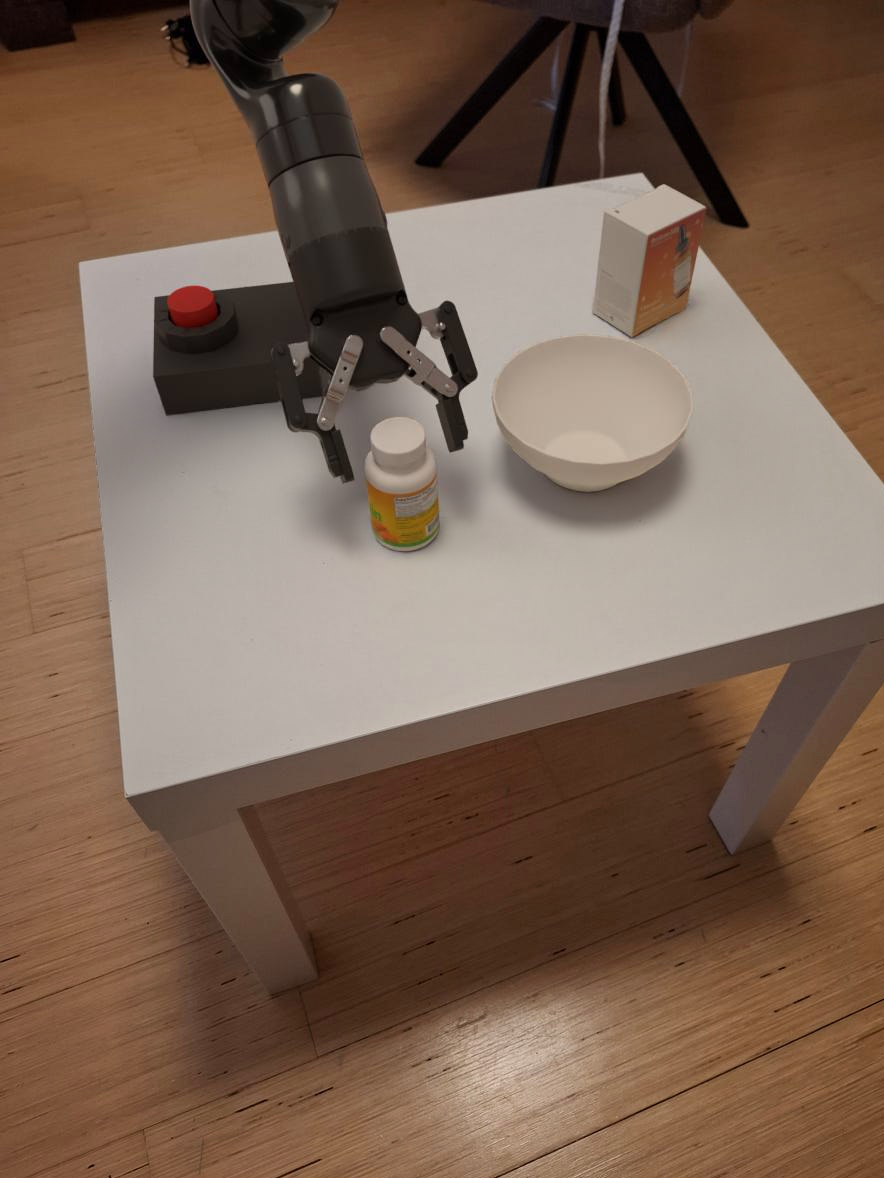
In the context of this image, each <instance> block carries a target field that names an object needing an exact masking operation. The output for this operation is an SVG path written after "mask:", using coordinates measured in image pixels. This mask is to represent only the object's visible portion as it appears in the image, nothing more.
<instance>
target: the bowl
mask: <svg viewBox="0 0 884 1178" xmlns="http://www.w3.org/2000/svg"><path fill="white" fill-rule="evenodd" d="M491 401H492V407H493V408H492V409H493V412H494V416H495V421H496V424H497V426H498V429H499V430H500V432H501V434H502V436H503V437H504V439H505V440H506V442H507V443H508V444H509V446H510V447H511V449H512V450H513V451H514V453H516V454H517V456H519V457H520V458H521V459H522V460H524V461H525V462H526V463H527V464H528V465H530V466H531V467H532V468H533V469H535V470H536V471H538V472H540V473H542V474H544V475H546V477H547V478H549V480H551V481H552V482H553V483H554V484H556V485H559V486H561V487H563V488H565V489H567V490H568V489H569V490H572V491H576V492H587V493H591V492H601V491H603V490H606V489H609V488H613V487H614V486H616V485H617V484H620V483H622V482H625V481H627V480H631V479H634V478H637V477H639V476H641V475H644V474H645V473H646V472H648V471H650V470H651V469H653V468H655V467H656V466H659V464H660V463H662V462H664V460H666V459H667V457H668V456H669V455H670V454H671V453H672V452H673V451H674V450H675V448H676V447H677V446H678V445H679V444H680V442H681V441H682V440H683V439H684V437H685V435H686V432H687V430H688V427H689V424H690V422H691V419H692V416H693V414H694V412H695V411H694V393H693V391H692V389H691V386H690V384H689V382H688V380H687V377H686V376H685V375H684V374H683V373H682V372H681V370H679V368H678V367H677V366H676V365H675V364H674V363H673V362H672V361H670V360H669V359H667V358H666V357H664V356H663V355H662V354H660V353H659V352H657V351H656V350H654V349H653V348H652V349H651V348H650V347H647V346H644V345H642V344H640V343H638V342H635V341H632V340H628V339H623V338H619V337H615V336H611V335H602V334H600V335H598V334H586V333H582V334H572V335H562V336H557V337H553V338H549V339H545V340H542V341H538V342H536V343H533V344H532V345H530V346H527V347H526V348H523V349H522V350H520V351H518V352H517V353H515V354H514V355H513V356H512V357H510V359H509V360H508V361H506V362H505V363H504V364H503V365H502V367H501V368H500V370H499V371H498V373H497V375H496V377H495V379H494V380H493V387H492V392H491Z"/></svg>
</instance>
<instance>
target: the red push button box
mask: <svg viewBox="0 0 884 1178" xmlns="http://www.w3.org/2000/svg"><path fill="white" fill-rule="evenodd" d="M211 291H212V293H213V294H214V298H215V302H216V306H217V310H218V316H217V318H216V319H215V320H214V321H213V322H211V323H209V324H206V325H204V326H202V327H194V328H184V327H179V326H177V325H176V324H175V323H174V322H173V320H172V317H171V314H170V310H169V307H168V304H167V300H168V297H169V296H170V294H168V295H167V294H166V295H159V296H154V300H153V308H154V309H153V348H152V349H153V354H152V358H153V360H152V363H153V364H152V378H153V381H154V385H155V387H156V390H157V393H158V395H159V399H160V402H161V404H162V408H163V410H164V414H165V415H166V416H171V415H178V414H179V415H180V414H187V413H194V412H201V411H202V412H203V411H211V410H218V409H226V408H234V407H241V406H242V407H243V406H251V405H258V404H259V405H260V404H267V403H274V402H275V403H277V402H281V399H280V395H279V391H278V387H277V383H276V379H275V375H274V371H273V367H272V363H271V360H270V355H271V351H272V348H273V346H274V345H275V344H276V343H278V342H283V343H285V344H287V345H289V344H294V343H300V342H305V341H307V340H308V329H307V325H306V321H305V318H304V315H303V312H302V308H301V305H300V302H299V299H298V295H297V292H296V289H295V286H294V282H293V281H287V282H278V283H269V284H268V283H267V284H260V285H258V284H257V285H251V286H250V285H249V286H241V287H232V288H231V287H230V288H223V289H213V290H211ZM321 377H322V376H321V371H320V366H319V365H318V364H316V363H315V362H314V361H313V360H312V359H311V358H310V357H306V358H305V359H304V368H303V370H302V372H301V373H300V374H299V375H298V376H297V380H298V384H299V388H300V392H301V397H302V399H306V398H307V399H308V398H314V397H323V395H324V391H323V385H322V379H321Z"/></svg>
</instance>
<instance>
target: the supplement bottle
mask: <svg viewBox="0 0 884 1178" xmlns="http://www.w3.org/2000/svg"><path fill="white" fill-rule="evenodd" d="M426 436H427V435H426V430H425V428H424V427H423V425H422V424H421V423H420V422H419V421H416V420H415V419H413V418H410V417H406V416H395V417H394V416H393V417H387V418H386V419H383V420H381V421H379V422H378V423H376V424H375V425H374V427H373V428H372V429H371V432H370V438H369V439H370V448H371V450H370V451H368V453H367V455H366V457H365V460H364V476H365V482H366V483H365V484H366V492H367V499H368V507H369V514H370V515H369V516H370V522H371V528H372V533H373V535H374V537H375V538H376V540H377V541H378V542H379V543H380V544H381V545H383V546H384V547H385V548H387V549H391V550H393V551H398V552H410V551H416V550H419V549H421V548H424V547H425V546H427V545H428V544H430V543H431V542H432V541H433V540H434V539H435V538H436V536H437V535H438V533H439V530H440V504H439V485H438V483H439V482H438V466H437V459H436V456H435V454H434V452H433V451H432V450H431V448H430V447H429V446H428V445H427V437H426Z"/></svg>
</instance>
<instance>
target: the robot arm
mask: <svg viewBox="0 0 884 1178" xmlns="http://www.w3.org/2000/svg"><path fill="white" fill-rule="evenodd" d="M339 2H340V0H189V12H190V13H189V14H190V19H191V24H192V27H193V31H194V33H195V36H196V39H197V41H198V43H199V46H200V47H201V49H202V51H203V52H204V55H205V56H206V58H207V59H208V61H209V63H210V64H211V66H212V68H213V69H214V71H215V73H216V74H217V76H218V77H219V79H220V81H221V83H222V84H223V86H224V87H225V89H226V91H227V93H228V95H229V97H230V99H231V101H232V102H233V104H234V105H235V107H236V109H237V110H238V112H239V114H240V116H241V117H242V118H243V120H244V122H245V125H246V126H247V127H248V129H249V131H250V133H251V135H252V139H253V142H254V146H255V150H256V152H257V153H256V154H257V156H258V160H259V162H260V166H261V168H262V172H263V177H264V179H265V182H266V185H267V188H268V191H269V192H268V193H269V195H270V200H271V206H272V213H273V218H274V223H275V226H276V230H277V233H278V236H279V240H280V244H281V247H282V251H283V252H284V256H285V260H286V263H287V266H288V269H289V272H290V276H291V279H292V282H294V286H295V289H296V292H297V295H298V299H299V302H300V305H301V308H302V312H303V315H304V318H305V321H306V325H307V329H308V340H307V341H305V342H300V343H294V344H289V345H287V344H285V343H283V342H278V343H276V344H275V345H274V346H273V348H272V351H271V355H270V360H271V363H272V367H273V371H274V375H275V379H276V383H277V387H278V391H279V395H280V399H281V401H280V404H281V407H282V411H283V414H284V418H285V422H286V426H287V429H288V430H289V431H290V432H292V433H309V434H313V435H314V436H316V437H317V439H318V441H319V444H320V447H321V451H322V453H323V457H324V460H325V463H326V466H327V469H328V472H329V474H330V475H331V477H333V479H335V478H340V482H341V484H342V485H345V484H348V483H351V482H355V481H356V480H355V479H356V478H355V474H354V470H353V467H352V464H351V461H350V458H349V455H348V451H347V447H346V444H345V441H344V438H343V435H342V430H341V429H340V428H339V429H337V427H336V424H335V423H336V420H337V417H338V414H339V413H340V409H341V406H342V403H343V401H344V399H345V397H346V394H347V391H348V389H349V390H352V391H356V393H357V392H362V391H365V390H368V389H369V388H371V387H373V386H375V385H383V384H384V385H387V384H388V385H389V384H391V383H395V382H398V381H399V380H400V379H401V378H402V377H406V378H407V379H408V380H409V381H410V382H411V383H413V384H414V385H416V386H419V387H420V388H422V389H423V390H424V391H425V392H427V393H428V394H429V395H430V396H432V397H433V398H434V399H435V400H437V403H436V404H435V405H434V406H435V409H436V412H437V416H438V419H439V422H440V426H441V430H442V433H443V437H444V441H445V444H446V447H447V450H448V453H455V452H458V451H461V450H464V449H465V443H464V441H466V440H468V439H469V429H468V426H467V422H466V419H465V415H464V412H463V408H462V404H461V401H460V394H461V392H462V390H464V389H465V388H466V387H468V386H470V384H472V383H473V382H474V381H476V380H477V379H478V376H479V372H478V369H477V366H476V363H475V360H474V357H473V355H472V351H471V348H470V345H469V342H468V340H467V336H466V333H465V330H464V328H463V325H462V321H461V319H460V315H459V313H458V310H457V307H456V305H455V303H454V302H452V300H444V301H443V302H441V303H440V304H439V306H437V307H434V308H432V309H428V310H425V311H422V312H419V313H418V312H417V311H416V310H415V308H413V306H412V305H411V303H410V301H409V298H408V294H407V291H406V287H405V284H404V280H403V277H402V273H401V270H400V266H399V262H398V260H397V257H396V252H395V249H394V246H393V242H392V239H391V235H390V232H389V228H388V224H389V223H388V219H387V215H386V213H385V212H384V211H385V210H384V209H383V207H382V204H381V201H380V197H379V194H378V192H377V189H376V186H375V184H374V182H373V180H372V177H371V175H370V173H369V170H368V167H367V164H366V162H365V158H364V154H363V151H362V148H361V144H360V140H359V136H358V133H357V129H356V127H355V124H354V120H353V116H352V113H351V109H350V106H349V103H348V100H347V98H346V95H345V92H344V91H343V89H342V88H341V86H340V85H339V83H338V82H337V81H336V80H335V79H334V78H332V77H330V76H328V75H327V74H324V73H320V72H319V73H318V72H300V73H296V74H290V75H288V73H287V71H286V68H285V64H284V57H286V56H287V55H288V54H289V53H291V52H292V51H293V50H295V49H296V48H297V47H299V46H300V45H301V44H303V43H304V42H306V40H308V39H310V38H312V36H314V35H315V34H317V32H319V31H320V30H321V29H323V28H324V27H325V26H326V25H327V23H328V22H329V21H330V20H331V19H332V18H333V16H334V14H335V13H336V10H337V9H338V6H339ZM422 329H423V330H426V331H427V332H428V333H429V335H430V337H431V338H432V339H433V340H437V341H439V342H440V344H441V348H442V350H443V353H444V355H445V359H446V361H447V364H448V367H449V370H450V373H451V376H450V377H449V376H448V375H447V374H446V373H445V372H443V371H442V370H441V369H440V368H438V366H437V364H436V363H435V362H434V361H433V360H431V358H429V357H428V356H427V355H426V354H424V353H423V352H422V351H421V350H419V349H418V347H417V344H418V342H419V340H420V339H419V338H420V337H421V336H420V335H421V332H422ZM306 357H310V358H311V359H312V360H313V361H314V362H315V363H316V364H318V365H319V368H321V369H322V370H324V371H325V372H326V373H327V374H328V375H329V378H328V381H327V384H326V387H325V390H324V391H323V396H322V398H321V402H320V405H319V408H318V410H317V412H316V413H314V412H306V409H305V404H304V401H303V398H302V397H301V392H300V388H299V384H298V380H297V376H298V375H299V374H300V373H301V372H302V370H303V368H304V359H305V358H306Z"/></svg>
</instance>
